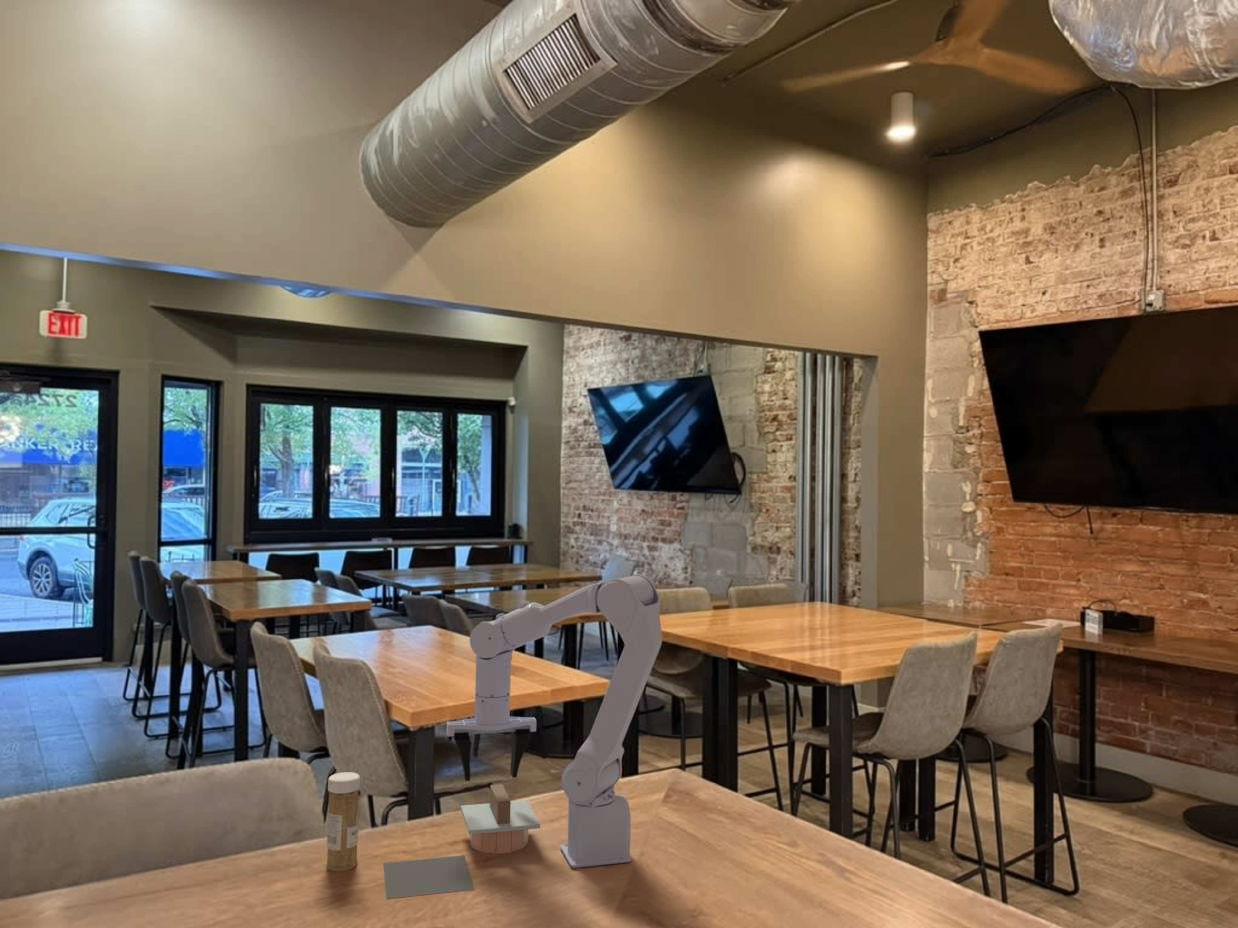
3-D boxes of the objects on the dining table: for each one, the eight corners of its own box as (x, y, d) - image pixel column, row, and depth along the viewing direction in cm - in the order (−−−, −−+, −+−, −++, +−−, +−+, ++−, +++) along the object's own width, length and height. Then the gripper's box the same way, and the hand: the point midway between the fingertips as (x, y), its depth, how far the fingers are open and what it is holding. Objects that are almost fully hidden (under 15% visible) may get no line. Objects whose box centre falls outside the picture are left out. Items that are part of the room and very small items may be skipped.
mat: (464, 857, 136) (464, 854, 136) (474, 891, 124) (474, 889, 124) (383, 865, 132) (383, 862, 132) (386, 901, 121) (386, 898, 121)
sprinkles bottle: (361, 869, 131) (364, 777, 131) (330, 876, 128) (333, 782, 129) (352, 858, 135) (355, 769, 135) (321, 864, 132) (324, 773, 133)
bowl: (521, 830, 147) (522, 806, 147) (532, 852, 138) (532, 826, 138) (467, 835, 144) (467, 811, 144) (474, 857, 136) (475, 831, 136)
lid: (526, 803, 148) (527, 779, 148) (540, 827, 138) (540, 801, 138) (460, 809, 145) (461, 783, 145) (469, 834, 135) (470, 807, 135)
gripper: (531, 686, 151) (529, 766, 151) (445, 690, 147) (443, 772, 147) (539, 695, 145) (537, 779, 144) (450, 700, 140) (447, 786, 140)
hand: (490, 777), depth 145 cm, fingers open, 7 cm apart
